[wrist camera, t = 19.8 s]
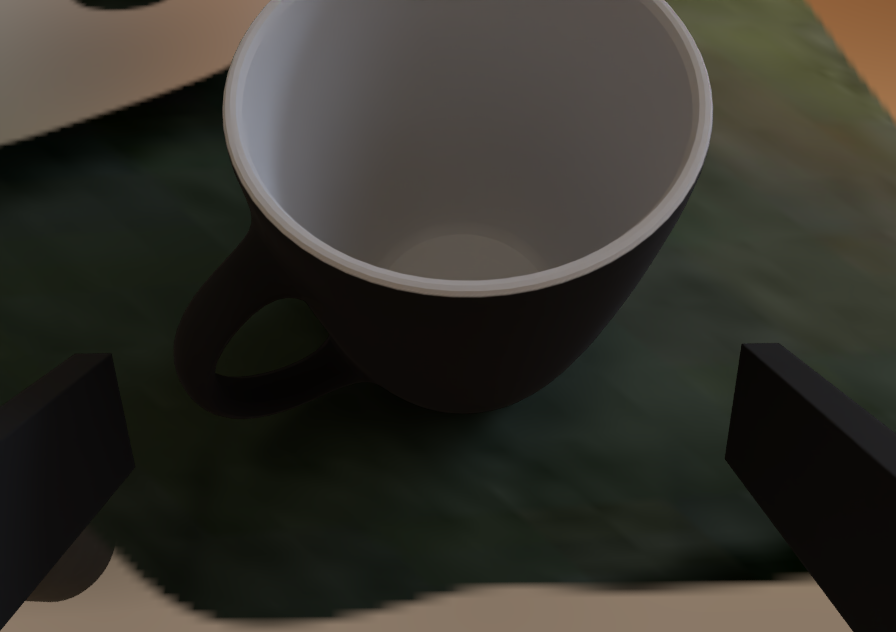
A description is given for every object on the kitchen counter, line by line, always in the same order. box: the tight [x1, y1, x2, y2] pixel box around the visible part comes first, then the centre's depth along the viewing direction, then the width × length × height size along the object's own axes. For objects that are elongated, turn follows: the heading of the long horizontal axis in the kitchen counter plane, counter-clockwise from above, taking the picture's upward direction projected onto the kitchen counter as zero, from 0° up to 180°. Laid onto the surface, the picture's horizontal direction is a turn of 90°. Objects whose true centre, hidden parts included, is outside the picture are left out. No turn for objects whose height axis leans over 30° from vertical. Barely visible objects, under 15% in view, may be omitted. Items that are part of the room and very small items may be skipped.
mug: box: [174, 0, 713, 419], centre depth 16 cm, size 12×9×10 cm
